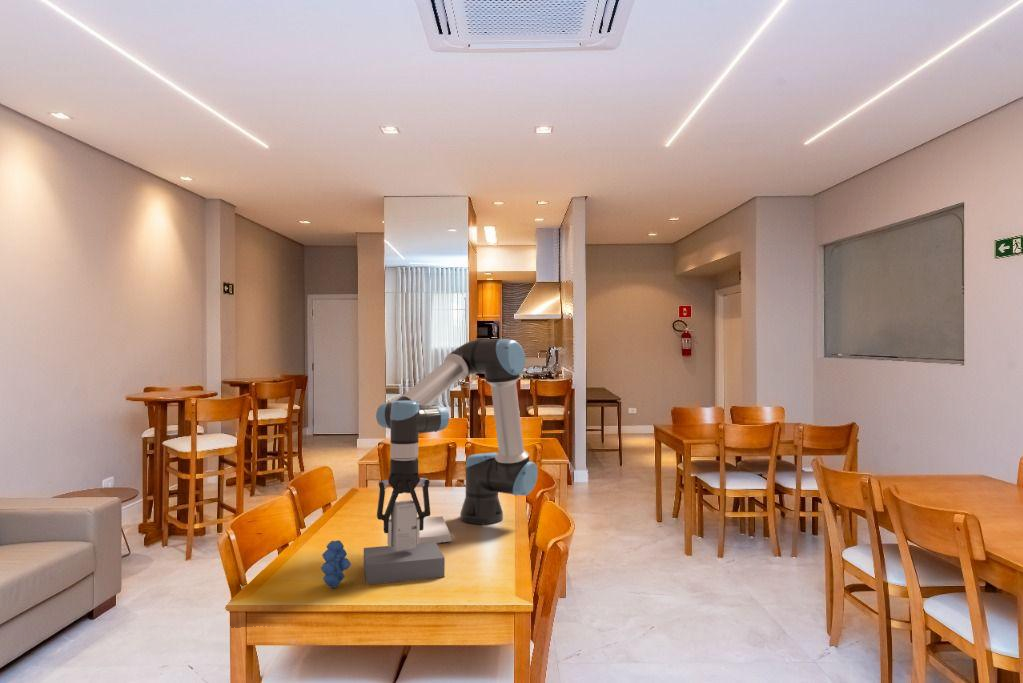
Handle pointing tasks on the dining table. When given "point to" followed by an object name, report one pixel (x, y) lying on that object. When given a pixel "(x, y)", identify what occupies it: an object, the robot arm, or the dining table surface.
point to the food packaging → (434, 531)
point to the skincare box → (403, 525)
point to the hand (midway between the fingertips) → (403, 543)
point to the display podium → (403, 563)
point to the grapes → (334, 563)
